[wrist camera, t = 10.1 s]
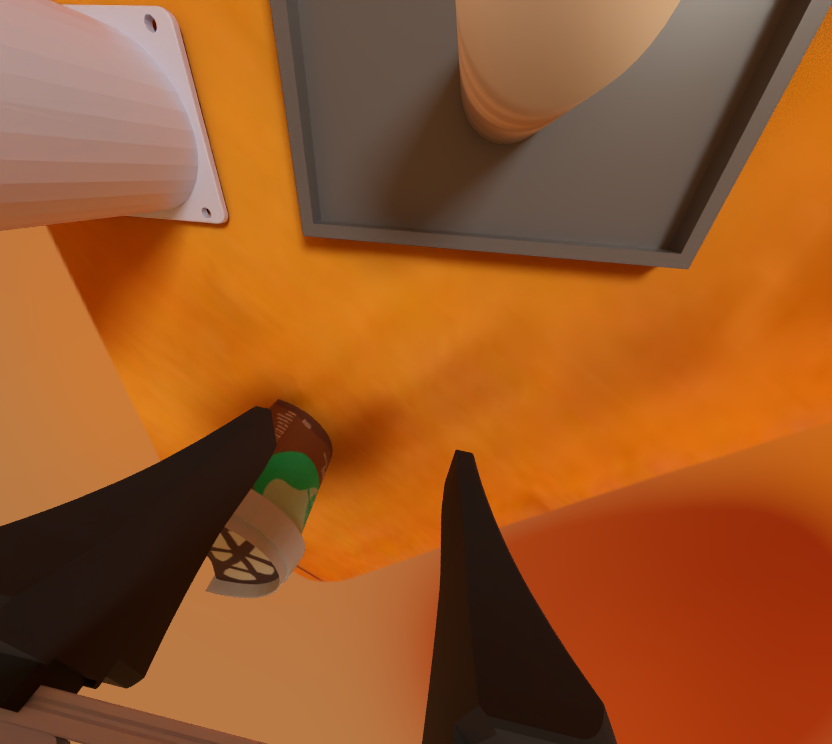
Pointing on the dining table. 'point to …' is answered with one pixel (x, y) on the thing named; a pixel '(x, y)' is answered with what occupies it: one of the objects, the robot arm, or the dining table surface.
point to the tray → (538, 154)
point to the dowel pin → (545, 57)
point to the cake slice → (273, 510)
